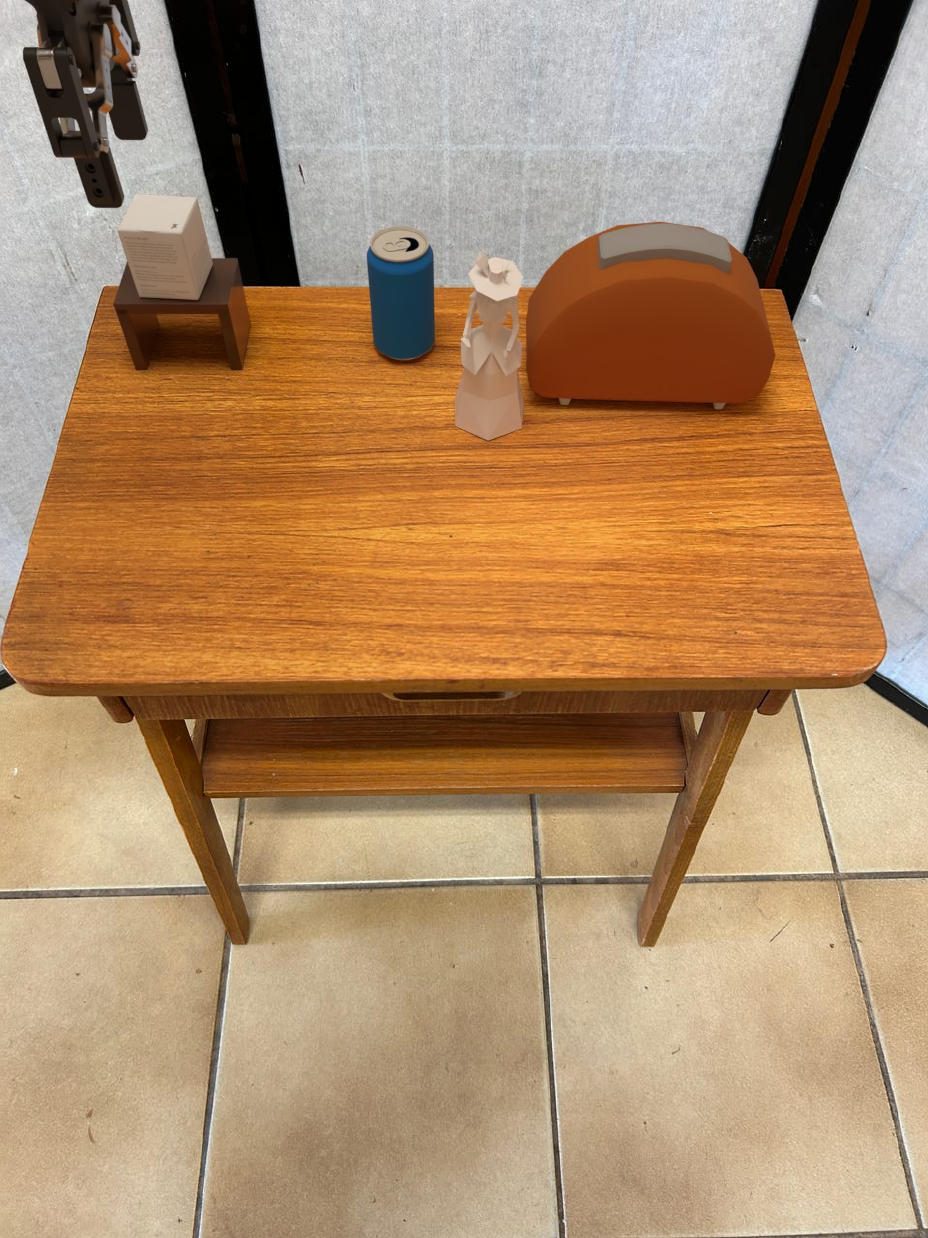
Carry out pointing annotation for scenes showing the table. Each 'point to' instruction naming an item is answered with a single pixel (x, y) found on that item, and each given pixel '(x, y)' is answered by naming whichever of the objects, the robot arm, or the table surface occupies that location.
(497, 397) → the figurine
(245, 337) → the shelf
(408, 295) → the beverage can
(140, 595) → the table surface
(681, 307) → the orange toaster
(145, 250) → the product box
